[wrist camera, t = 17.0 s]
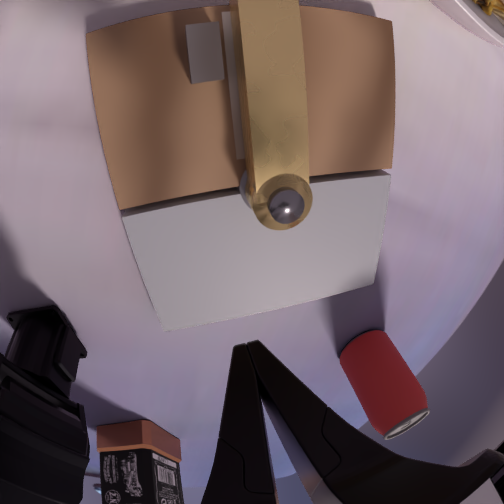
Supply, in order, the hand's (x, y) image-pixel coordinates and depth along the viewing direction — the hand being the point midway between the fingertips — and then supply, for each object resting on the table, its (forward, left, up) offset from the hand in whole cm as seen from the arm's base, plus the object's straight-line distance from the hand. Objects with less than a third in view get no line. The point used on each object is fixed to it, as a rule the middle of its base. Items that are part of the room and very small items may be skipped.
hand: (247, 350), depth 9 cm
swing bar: (+4, +6, -10) cm, 12 cm away
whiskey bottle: (-17, -33, -12) cm, 39 cm away
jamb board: (+4, -3, -11) cm, 12 cm away
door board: (+4, +7, -12) cm, 14 cm away
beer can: (+15, -21, -12) cm, 28 cm away
